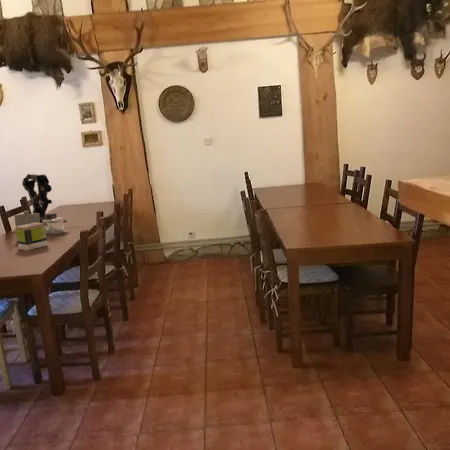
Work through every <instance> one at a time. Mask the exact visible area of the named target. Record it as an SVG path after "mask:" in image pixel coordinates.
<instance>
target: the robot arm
mask: <svg viewBox="0 0 450 450" xmlns="http://www.w3.org/2000/svg"><path fill="white" fill-rule="evenodd" d="M21 183H22V187H23V188H24V190H25V191H26V192H27V193H28V197H29V199H30V202H31V205H32V207H33V209H32V214H34V213H39V216H40V223H44V219H45V215H46V212H47V210H48V207H49V204H52V203H53V201H52V200H51V199H50V198H48V193H50V192H51V191H52V186H51V185H50V180H49V179H48V177H47V175H46V173H44V174H43V173H42V174H35V173H28V174H26V176H25V177H24V178H23V179H22V182H21ZM36 186H37V191H38V192H37V193H36V191H35V187H36Z"/></svg>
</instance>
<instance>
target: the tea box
mask: <svg viewBox="0 0 450 450" xmlns="http://www.w3.org/2000/svg"><path fill="white" fill-rule="evenodd" d="M15 232H16V233H17V234H16V239H17V240H18V241H17V245H18V246H17V247H18V249H19V250H21V251H22V250H23V251H30V250H34V249H37V248H42V247H46V246H48V245H49V244H48V235H47V234H46V229H45V224H44V222H43V223H37V222H36V223H31V224H26V225H21V226H17V227H16V226H15Z"/></svg>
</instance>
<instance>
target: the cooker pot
mask: <svg viewBox="0 0 450 450" xmlns="http://www.w3.org/2000/svg"><path fill="white" fill-rule="evenodd" d="M43 223H44V224H45V229H46V236H50V235H51V236H54V235H61V234H65V232H66V231H65V223H68V220H67V219H64V220H62V221H57V222H44V221H43Z"/></svg>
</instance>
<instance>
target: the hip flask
mask: <svg viewBox="0 0 450 450" xmlns="http://www.w3.org/2000/svg"><path fill="white" fill-rule="evenodd" d="M13 217H14V225H15V228H16V227H17V226H21V225H26V224H31V223H36V222H37V223H40V216H39V213H34V214H33V213H30V210H24V211H23V213H20V214H14V216H13ZM16 235H17V233H16ZM17 242H18V240H17Z"/></svg>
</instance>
